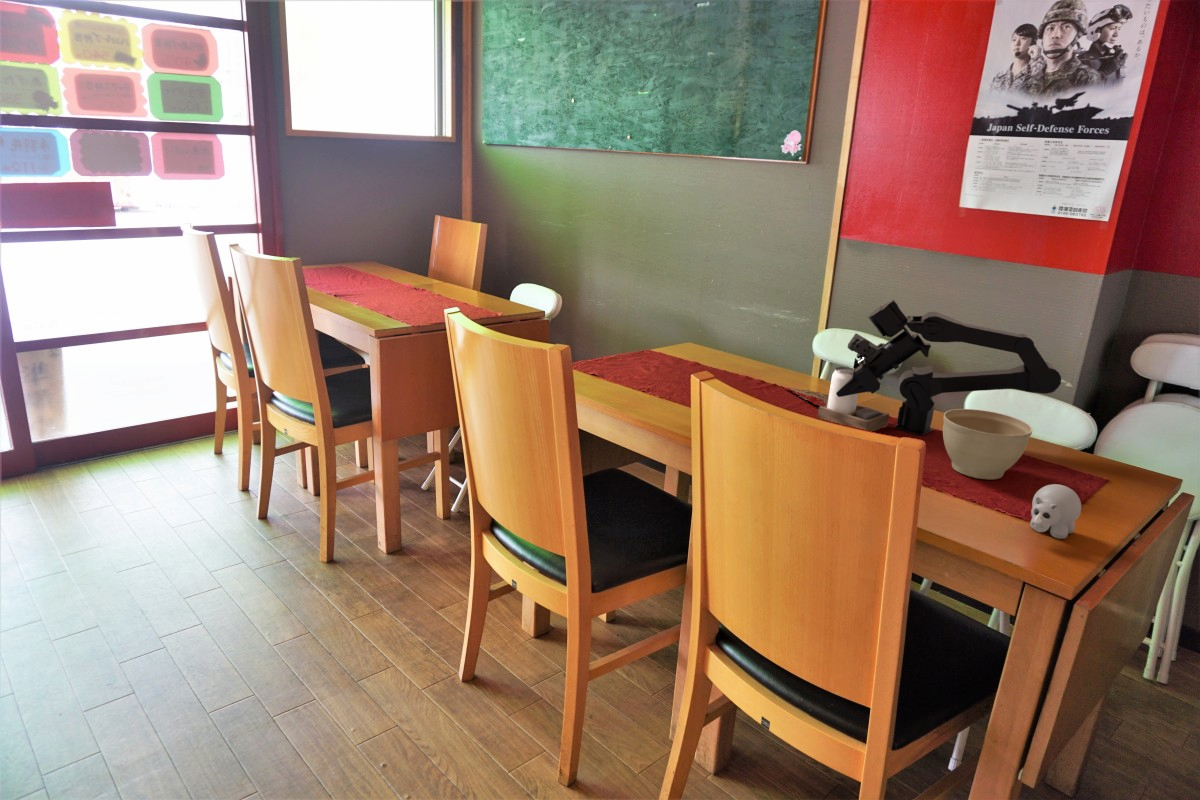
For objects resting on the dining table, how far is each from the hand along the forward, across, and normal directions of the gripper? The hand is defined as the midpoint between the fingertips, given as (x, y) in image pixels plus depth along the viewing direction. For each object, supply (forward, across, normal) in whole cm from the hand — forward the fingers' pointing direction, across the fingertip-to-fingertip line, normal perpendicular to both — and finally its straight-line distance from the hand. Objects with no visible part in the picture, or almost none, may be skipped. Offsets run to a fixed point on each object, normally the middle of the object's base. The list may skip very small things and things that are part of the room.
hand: (837, 391), depth 185 cm
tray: (+2, +2, +8) cm, 8 cm away
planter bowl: (-16, +21, +25) cm, 37 cm away
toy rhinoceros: (-21, +48, +31) cm, 61 cm away
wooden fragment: (+7, -12, +3) cm, 14 cm away
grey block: (0, +3, +10) cm, 10 cm away
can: (+4, 0, +6) cm, 7 cm away
